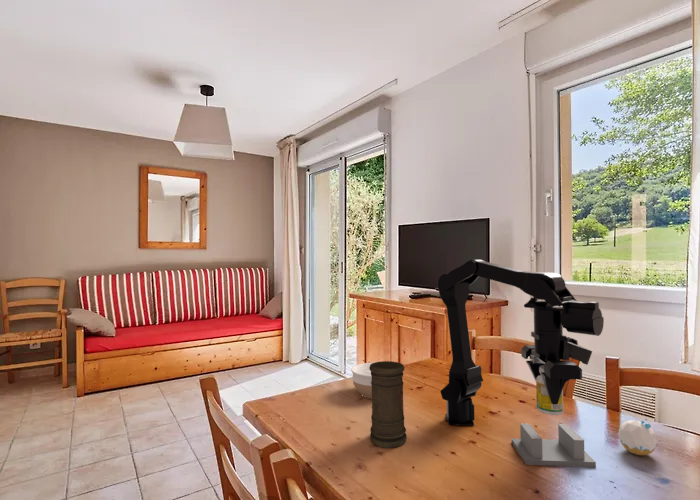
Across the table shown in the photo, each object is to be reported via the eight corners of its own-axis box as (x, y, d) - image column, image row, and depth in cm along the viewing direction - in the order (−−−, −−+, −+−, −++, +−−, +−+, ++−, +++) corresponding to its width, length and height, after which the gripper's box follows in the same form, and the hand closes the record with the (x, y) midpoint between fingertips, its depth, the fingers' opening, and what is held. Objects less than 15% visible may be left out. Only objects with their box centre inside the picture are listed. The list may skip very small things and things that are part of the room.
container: (382, 451, 91) (381, 372, 92) (363, 436, 99) (361, 363, 100) (414, 442, 96) (413, 366, 96) (393, 428, 103) (392, 358, 104)
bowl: (369, 382, 142) (368, 360, 142) (409, 390, 132) (409, 366, 133) (341, 395, 129) (341, 370, 129) (384, 405, 119) (384, 379, 120)
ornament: (617, 455, 88) (616, 418, 88) (621, 443, 94) (620, 408, 94) (655, 465, 84) (654, 426, 84) (657, 452, 89) (656, 415, 89)
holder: (526, 464, 85) (525, 440, 85) (511, 442, 95) (511, 421, 95) (595, 466, 83) (595, 442, 83) (573, 444, 93) (573, 422, 93)
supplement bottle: (560, 417, 85) (559, 372, 86) (533, 411, 89) (532, 368, 89) (565, 410, 90) (565, 367, 90) (540, 404, 93) (539, 363, 93)
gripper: (609, 338, 79) (610, 417, 79) (567, 322, 98) (568, 386, 98) (550, 337, 80) (551, 415, 80) (520, 322, 99) (521, 385, 99)
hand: (549, 399), depth 89 cm, fingers closed on supplement bottle, 5 cm apart
